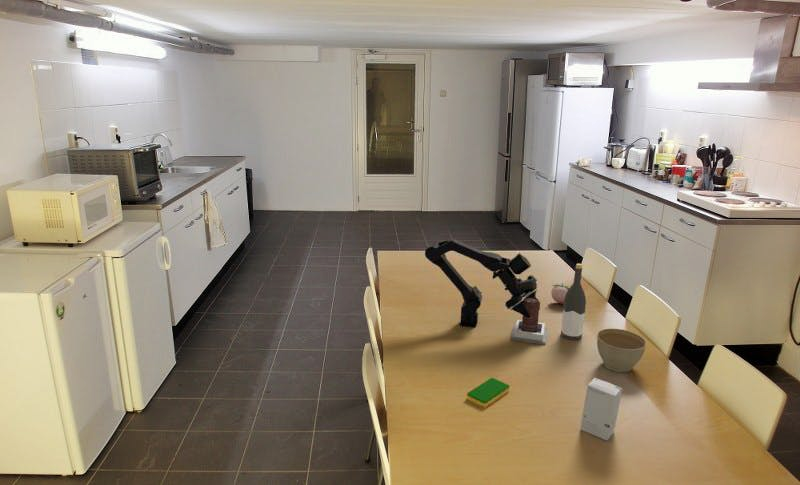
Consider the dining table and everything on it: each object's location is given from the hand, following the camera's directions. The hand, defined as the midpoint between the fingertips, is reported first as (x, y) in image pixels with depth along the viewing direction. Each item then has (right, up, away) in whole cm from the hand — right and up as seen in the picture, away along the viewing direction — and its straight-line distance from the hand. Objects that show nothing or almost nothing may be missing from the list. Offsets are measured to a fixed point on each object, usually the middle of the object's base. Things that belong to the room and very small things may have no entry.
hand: (534, 313), depth 210 cm
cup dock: (-1, -9, +3) cm, 10 cm away
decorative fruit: (+20, 0, +34) cm, 40 cm away
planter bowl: (+25, -16, -19) cm, 35 cm away
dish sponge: (-24, -22, -38) cm, 50 cm away
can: (-1, -8, +4) cm, 9 cm away
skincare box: (+4, -27, -56) cm, 62 cm away
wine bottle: (+15, -9, +3) cm, 18 cm away
